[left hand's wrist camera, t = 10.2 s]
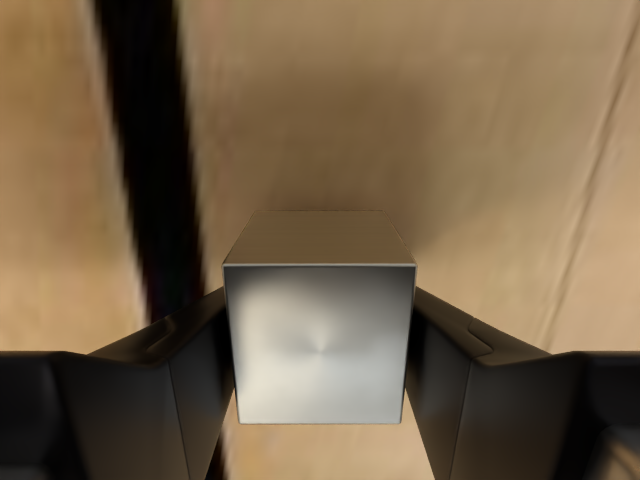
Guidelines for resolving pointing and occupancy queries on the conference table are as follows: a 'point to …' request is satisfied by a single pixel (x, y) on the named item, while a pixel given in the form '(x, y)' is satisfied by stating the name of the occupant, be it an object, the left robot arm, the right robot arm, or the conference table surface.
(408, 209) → the conference table surface
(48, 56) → the conference table surface
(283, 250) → the block
